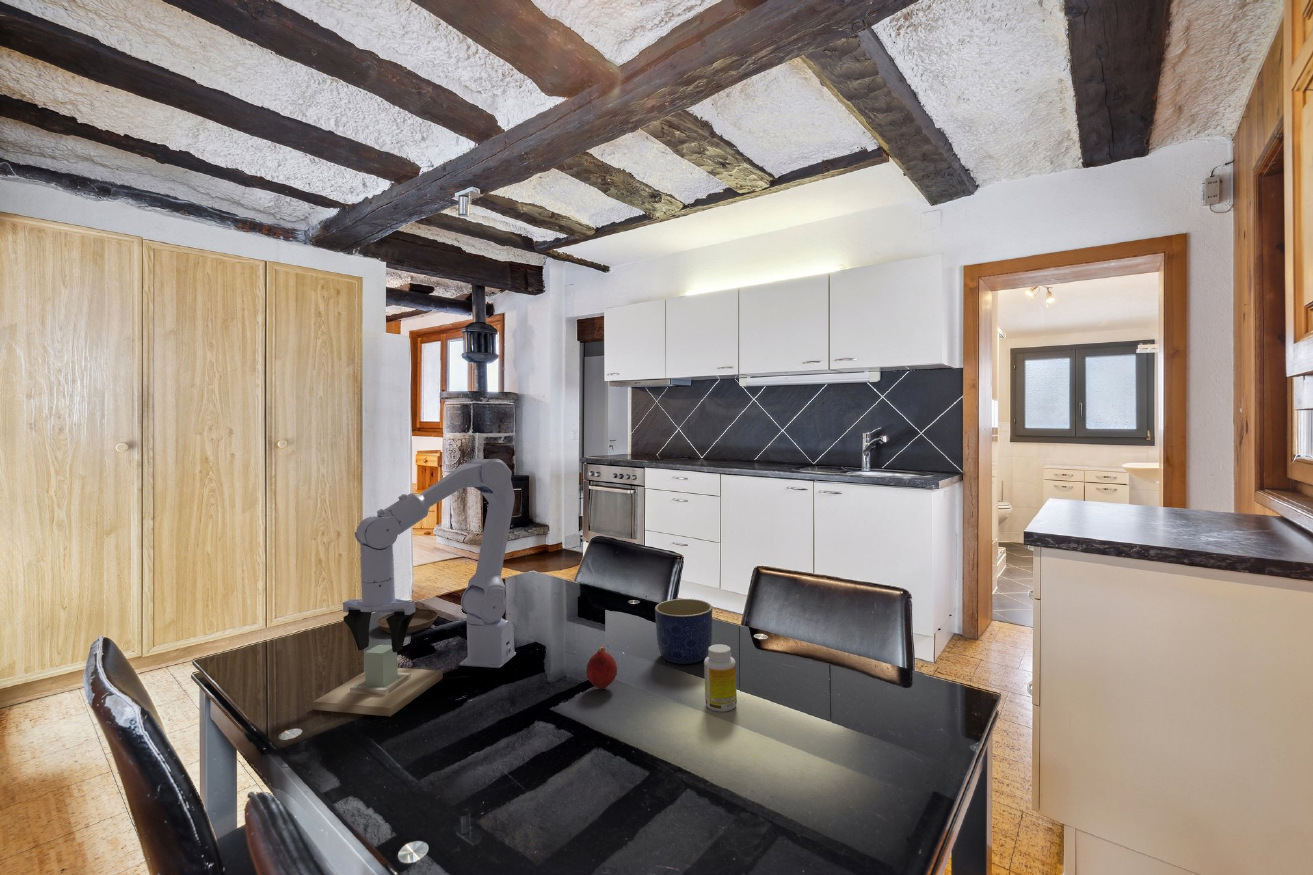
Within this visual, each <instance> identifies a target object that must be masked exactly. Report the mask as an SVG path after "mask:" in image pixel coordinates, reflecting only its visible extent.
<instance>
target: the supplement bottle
mask: <svg viewBox="0 0 1313 875" xmlns="http://www.w3.org/2000/svg"><path fill="white" fill-rule="evenodd" d="M703 665H704V666H703V668H704V672H703V673H704V698H705V699H704V700H705V705H706V707H708V709H710V710H711V711H714V712H719V713H720V712H723V713H724V712H730V711H732V710H733V709H734V708H735V707H736V706H737V703H738V699H737V698H738V697H737V671H736V670H737V669H736V666H737V665H736V659H735V658H734V657H733V656H732V650H731V647H730V646H729V645H726V644H719V643H718V644H711V646H710V647H709V648H708V656H707V657H706V658H705V659H704V661H703Z"/></svg>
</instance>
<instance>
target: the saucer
mask: <svg viewBox="0 0 1313 875" xmlns="http://www.w3.org/2000/svg"><path fill="white" fill-rule="evenodd" d="M392 615H394V613H388V614H386V615H383V616H381V617H380V618H378V619H377V621H376V624H377V626H378V627H379V629H381V630H382V631H384V632H385V633H388V634H391V633H390V629H389V625H388V623H387V621H386V618H388V617H390V616H392ZM438 616H439V612H437V611H436V610H434V609H429V608H415V612H414V616H413V618H412V620H411V622H410V624H409V626H408V629H407V632H406V634H410V633H416V632H420V631H422V630H425V629H428V628H429V627H430V626H431V625H432V624H434V622H435V621H436V620H437V618H438Z"/></svg>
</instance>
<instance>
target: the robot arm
mask: <svg viewBox="0 0 1313 875" xmlns="http://www.w3.org/2000/svg"><path fill="white" fill-rule="evenodd" d="M512 474H513V472H512V470H511V469H510V468H509V466H508V465H507V464H506V462H504V461H503V460H501V459H500V458H492V459H489V458H488V459H487V458H486V459H485V458H477V457H475V458H472V459H470V460H468V461H467V462H466V463H462V464H461V465H459V466H458V467H456V469H454V470H453V471H451V472H450V473H448V474H446V476H444V477H443V478H441V479H439V480H438V481H437V482H435V483H434V484H433V485H431V486H429V487H428V488H427V489H425V490H424V491H423V492H421V493H420V494H416V493H408V494H404V493H403V494H401V495H399V496H398V497H397V498H398V500H397V501H395V502H394V503H392V504H391V505H389V506H387V507H386V508H384V509H383V508H380V509H378V510H376V513H377V514H376V515H373V516H367V517H365V518H364V519H362V520H361V521H360V522H359V524H358V525H357V528H356V531H355V532H354V537H355V539H356V541H357V542H358V543H359V544H360V558H359V559H360V580H361V598H360V599H359V598H357V599H347V600H345V601H343V602H342V612H343V613H347V614H346V615H344V616H343V622H345V624H346V626H347V627H348V628H349V630H350V632H351V633H352V636H353V639H354V641H355V645H356V648H357V650H358V651H363V650H365V649H367V648H369V645H370V624H371V617H372V614H373V613H385V614H386V613H388V614H390V613H394V615H392V616H390V617H388V618H386V621H387V623H388V625H389V629H390V633H389V634H390V637H391V645H392V650H393V652H397V653H398V652H400V651H401V650H403V649H404V643H405V638H406V636H407V633H406V632H407V629H408V626H409V624H410V622H411V620H412V618H413V616H414V612H415V609H416V602H415V601H408V600H404V599H400V598H396V595H395V594H396V593H395V592H396V591H395V588H396V587H395V566H394V564H395V563H394V551H393V550H394V546H393V545H394V544H395V542H396V541H397V539H398V537H399V536H400V535H401V534H403V533H404V532H406V531H407V530H408V529H410V528H412V527H413V526H414V525H416V524H418V523H419V522H420V521H422V520H424V519H425V518H426V517H427V516H428V514H429V511H430V508H431V507H432V506H435V505H436V504H438V503H440V502H441V501H443V500H444V499H447V498H448V497H449V496H451V495H453V494H455V493H456V492H458V491H460V490H461V489H463V488H474V489H475V490H477V491H479V492H480V493H481V494H482V495H483V497H484V498H485V500H486V501H487V502H488V507H487V512H486V516H485V517H486V518H485V522H484V526H483V527H484V528H483V533H482V537H481V544H480V548H479V552H478V553H479V554H478V559H477V565H476V569H475V573H474V574H473V575H472V577H470V578H469V580H468V583H467V587H466V589H465V590H464V592H463V593H462V595H461V598H460V599H461V600H460V605H461V608H462V610H463V611H464V612H465V613H466V636H467V637H466V638H467V641H466V642H467V657H466V658H465V659H463V660H462V661H461V662H459V666H464V667H481V668H495V669H499V668H501V667H503V666H504V665H505V664H506V663H507V662H509V661H510V660H511V659H512V658H514V656H516V654H517V652H516V651H515V631H514V630H515V629H514V625H513V622H512V621H511V620H507V619H504V618H503V616H504V614H505V612H506V609H507V600H506V594H505V593H506V585H505V583H504V581H503V579H502V571H503V566H504V560H505V555H506V550H507V544H508V538H509V533H510V528H511V527H510V526H511V522H512V517H513V511H514V506H515V499H516V495H515V491H514V488H513V487H514V486H513V482H512V480H511V479H512ZM398 535H399V536H398Z"/></svg>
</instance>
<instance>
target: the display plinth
mask: <svg viewBox="0 0 1313 875" xmlns="http://www.w3.org/2000/svg"><path fill="white" fill-rule="evenodd" d="M397 669H398V679H397V680H396V681H394V682H393V683H391V684H390V685H388V686H387V687H385V688H378V687H366V682H365V671H363V672H362V673H360V674H359V675H356V676H355V677H353V678H351V679H350V680H348V681H346V682H344V683H343V684H341V685H339V686H337V687H335V688H334V689H332V690H331V691H329V692H326V693H325V694H324V695H322V696H321V697H318V698H317V699H315V700H313V702H312V704H313V705H312V706H313V710H315V711H322V712H323V711H325V712H326V711H327V712H336V713H347V714H358V715H359V714H360V715H369V716H370V715H372V716H383V717H392V716H393V715H394V714H396V713H397V712H399V711H400V710H401V709H403V708H404V707H405V706H407V705H409V704H410V703H411V702H413V701H414V700H415V699H416V698H418V697H419V696H420V695H422V694H423V693H424V692H426V691H427V690H428V689H430V688H432V686H434V685H435V684H438V682H440V681H441V680H442V679H443V676H444V675H443V674H444V673H443V670H436V669H433V670H432V669H423V668H421V669H419V668H407V667H406V668H404V667H397Z"/></svg>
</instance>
